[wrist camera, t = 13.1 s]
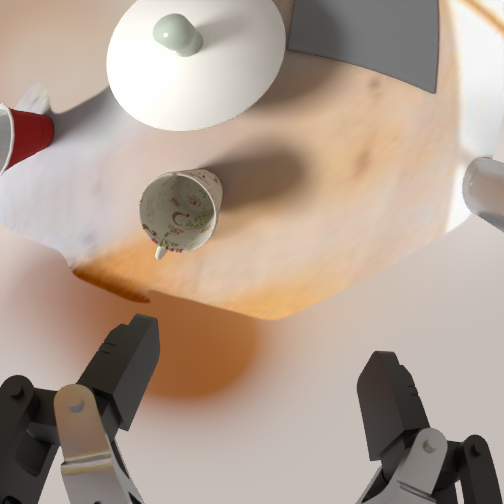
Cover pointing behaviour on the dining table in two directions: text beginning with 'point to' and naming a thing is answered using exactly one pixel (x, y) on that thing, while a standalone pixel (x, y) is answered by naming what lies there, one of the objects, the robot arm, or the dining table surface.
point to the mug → (181, 210)
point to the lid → (194, 60)
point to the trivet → (372, 35)
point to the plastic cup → (22, 135)
